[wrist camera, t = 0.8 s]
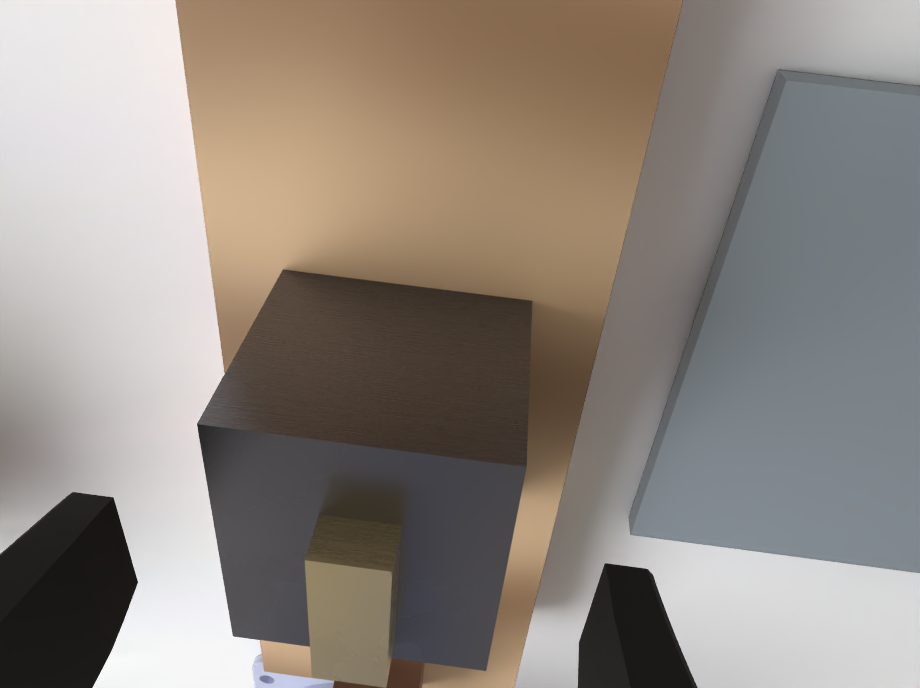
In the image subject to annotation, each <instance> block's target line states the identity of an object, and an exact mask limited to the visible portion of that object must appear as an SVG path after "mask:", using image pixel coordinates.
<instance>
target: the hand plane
mask: <svg viewBox="0 0 920 688" xmlns="http://www.w3.org/2000/svg"><path fill="white" fill-rule="evenodd" d="M175 1H176V8H177V16H178V23H179V31H180V39H181V46H182V54H183V61H184V69H185V76H186V84H187V92H188V99H189V107H190V114H191V122H192V129H193V137H194V145H195V152H196V160H197V167H198V175H199V182H200V190H201V197H202V205H203V213H204V220H205V228H206V235H207V243H208V250H209V258H210V266H211V273H212V281H213V288H214V296H215V303H216V311H217V319H218V326H219V334H220V341H221V349H222V356H223V364H224V372H225V373H226V371H227V369H228V367H229V366H230V364H231V362H232V360H233V358H234V357H235V355H236V353H237V351H238V349H239V348H240V346H241V344H242V342H243V340H244V339H245V337H246V335H247V333H248V331H249V329H250V328H251V326H252V324H253V322H254V320H255V319H256V317H257V315H258V313H259V311H260V310H261V308H262V306H263V304H264V302H265V301H266V299H267V297H268V295H269V293H270V292H271V290H272V288H273V286H274V284H275V283H276V281H277V279H278V277H279V275H280V274H281V272H282V270H291V271H299V272H307V273H315V274H323V275H331V276H339V277H347V278H355V279H363V280H371V281H379V282H387V283H395V284H403V285H411V286H419V287H427V288H435V289H443V290H451V291H459V292H467V293H475V294H483V295H491V296H499V297H507V298H515V299H523V300H531V301H532V326H531V355H530V385H529V414H528V443H527V468H526V473H525V478H524V483H523V488H522V493H521V498H520V503H519V508H518V513H517V518H516V523H515V528H514V533H513V539H512V544H511V549H510V554H509V559H508V564H507V569H506V574H505V579H504V584H503V589H502V594H501V599H500V604H499V609H498V614H497V619H496V624H495V629H494V634H493V639H492V644H491V649H490V654H489V659H488V665H487V670H486V671H482V670H474V669H467V668H460V667H453V666H445V665H438V664H431V663H424V662H416V661H409V660H402V659H395V658H392V659H391V665H390V670H389V676H388V681H387V687H386V688H514V686H515V682H516V678H517V674H518V670H519V666H520V661H521V657H522V653H523V649H524V645H525V641H526V637H527V633H528V629H529V625H530V621H531V617H532V613H533V609H534V605H535V600H536V596H537V592H538V588H539V584H540V580H541V576H542V572H543V568H544V564H545V560H546V556H547V552H548V548H549V544H550V539H551V535H552V531H553V527H554V523H555V519H556V515H557V511H558V507H559V503H560V499H561V495H562V491H563V487H564V483H565V479H566V474H567V470H568V466H569V462H570V458H571V454H572V450H573V446H574V442H575V438H576V434H577V430H578V426H579V422H580V418H581V413H582V409H583V405H584V401H585V397H586V393H587V389H588V385H589V381H590V377H591V373H592V369H593V365H594V361H595V357H596V352H597V348H598V344H599V340H600V336H601V332H602V328H603V324H604V320H605V316H606V312H607V308H608V304H609V300H610V296H611V291H612V287H613V283H614V279H615V275H616V271H617V267H618V263H619V259H620V255H621V251H622V247H623V243H624V239H625V235H626V230H627V226H628V222H629V218H630V214H631V210H632V206H633V202H634V198H635V194H636V190H637V186H638V182H639V178H640V174H641V169H642V165H643V161H644V157H645V153H646V149H647V145H648V141H649V137H650V133H651V129H652V125H653V121H654V117H655V113H656V108H657V104H658V100H659V96H660V92H661V88H662V84H663V80H664V76H665V72H666V68H667V64H668V60H669V56H670V52H671V48H672V43H673V39H674V35H675V31H676V27H677V23H678V19H679V15H680V11H681V7H682V3H683V0H175ZM260 644H261V652H262V659H263V667H264V672H271V673H279V674H286V675H293V676H300V677H307V678H312V671H311V655H310V647H308V646H300V645H293V644H286V643H279V642H271V641H264V640H260ZM315 679H319V678H315ZM322 680H326V679H322ZM329 681H334V680H329ZM333 688H384V687H377V686H370V685H362V684H355V683H348V682H341V681H334V685H333Z"/></svg>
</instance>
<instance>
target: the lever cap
mask: <svg viewBox="0 0 920 688" xmlns="http://www.w3.org/2000/svg"><path fill="white" fill-rule="evenodd" d="M531 326H532V301H531V300H523V299H515V298H507V297H499V296H491V295H483V294H475V293H467V292H459V291H451V290H443V289H435V288H427V287H419V286H411V285H403V284H395V283H387V282H379V281H371V280H363V279H355V278H347V277H339V276H331V275H323V274H315V273H307V272H299V271H291V270H282V272H281V274H280V275H279V277H278V279H277V281H276V283H275V284H274V286H273V288H272V290H271V292H270V293H269V295H268V297H267V299H266V301H265V302H264V304H263V306H262V308H261V310H260V311H259V313H258V315H257V317H256V319H255V320H254V322H253V324H252V326H251V328H250V329H249V331H248V333H247V335H246V337H245V339H244V340H243V342H242V344H241V346H240V348H239V349H238V351H237V353H236V355H235V357H234V358H233V360H232V362H231V364H230V366H229V367H228V369H227V371H226V373H225V375H224V376H223V378H222V380H221V382H220V384H219V385H218V387H217V389H216V391H215V393H214V394H213V396H212V398H211V400H210V402H209V404H208V405H207V407H206V409H205V411H204V413H203V414H202V416H201V418H200V420H199V422H198V423H197V426H198V432H199V438H200V444H201V450H202V456H203V462H204V468H205V474H206V480H207V485H208V491H209V497H210V503H211V509H212V515H213V521H214V527H215V533H216V539H217V544H218V550H219V556H220V562H221V568H222V574H223V580H224V586H225V592H226V598H227V603H228V609H229V615H230V621H231V627H232V633H233V636H235V637H242V638H249V639H257V640H264V641H271V642H279V643H286V644H293V645H300V646H308V647H310V655H311V671H312V678H319V679H326V680H334V681H341V682H348V683H355V684H362V685H370V686H377V687H384V688H386V687H387V681H388V676H389V670H390V665H391V659H392V658H395V659H402V660H409V661H416V662H424V663H431V664H438V665H445V666H453V667H460V668H467V669H474V670H482V671H486V670H487V665H488V659H489V654H490V649H491V644H492V639H493V634H494V629H495V624H496V619H497V614H498V609H499V604H500V599H501V594H502V589H503V584H504V579H505V574H506V569H507V564H508V559H509V554H510V549H511V544H512V539H513V533H514V528H515V523H516V518H517V513H518V508H519V503H520V498H521V493H522V488H523V483H524V478H525V473H526V468H527V443H528V414H529V385H530V355H531Z"/></svg>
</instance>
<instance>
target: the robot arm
mask: <svg viewBox="0 0 920 688" xmlns="http://www.w3.org/2000/svg"><path fill="white" fill-rule="evenodd" d="M137 583H138V581H137V578H136V574H135V571H134V567H133V564H132V560H131V557H130V553H129V550H128V546H127V543H126V539H125V536H124V532H123V529H122V526H121V522H120V519H119V515H118V512H117V508H116V505H115V501H114V498H113V497H105V496H98V495H91V494H83V493H76V492H72V493H71V494H70V495H68V496H67V497H66V498H65V499H63V500H62V501H61V502H60V503H59V504H58V505H56V506H55V507H54V508H53V509H52V510H51V511H49V512H48V513H47V514H46V515H45V516H44V517H42V518H41V519H40V520H39V521H38V522H37V523H36V524H34V525H33V526H32V527H31V528H30V529H29V530H28V531H26V532H25V533H24V534H23V535H22V536H21V537H20V538H18V539H17V540H16V541H15V542H14V543H13V544H11V545H10V546H9V547H8V548H7V549H6V550H5V551H3V552H2V553H1V554H0V688H92V687H93V685H94V684H95V682H96V680H97V678H98V676H99V674H100V672H101V670H102V668H103V666H104V664H105V662H106V660H107V658H108V656H109V654H110V653H111V651H112V648H113V646H114V643H115V641H116V638H117V636H118V633H119V631H120V628H121V626H122V623H123V621H124V618H125V616H126V613H127V610H128V608H129V605H130V602H131V599H132V597H133V594H134V591H135V589H136V586H137ZM252 671H253V678H254V685H255V688H333V685H334V681H329V680H322V679H315V678H307V677H300V676H293V675H286V674H279V673H271V672H264V667H263V659H262V654H261V655H258V656H257V657H256V658H255V661H254V664H253V667H252ZM578 688H697V686H696V683H695V681H694V679H693V677H692V674H691V672H690V670H689V667H688V665H687V663H686V660H685V658H684V656H683V653H682V651H681V648H680V646H679V644H678V641H677V639H676V636H675V634H674V631H673V629H672V626H671V624H670V621H669V618H668V616H667V613H666V611H665V608H664V605H663V602H662V600H661V597H660V594H659V591H658V589H657V586H656V583H655V580H654V577H653V575H652V574H651V572H650V571H649V570H648V569H644V568H636V567H629V566H621V565H614V564H606V563H605V565H604V568H603V571H602V574H601V577H600V580H599V583H598V586H597V589H596V592H595V595H594V598H593V601H592V605H591V608H590V611H589V614H588V617H587V620H586V623H585V626H584V629H583V632H582V635H581V638H580V641H579V668H578Z"/></svg>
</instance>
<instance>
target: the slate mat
mask: <svg viewBox="0 0 920 688" xmlns="http://www.w3.org/2000/svg"><path fill="white" fill-rule="evenodd" d="M629 525H630V535H636V536H644V537H651V538H659V539H666V540H674V541H681V542H689V543H697V544H704V545H712V546H719V547H727V548H734V549H742V550H749V551H757V552H765V553H772V554H780V555H787V556H795V557H802V558H810V559H817V560H825V561H832V562H840V563H848V564H855V565H863V566H870V567H878V568H885V569H893V570H900V571H908V572H916V573H920V86H913V85H904V84H896V83H887V82H879V81H870V80H861V79H853V78H844V77H836V76H827V75H818V74H810V73H801V72H792V71H784V70H778V71H777V74H776V77H775V80H774V83H773V86H772V89H771V92H770V95H769V98H768V101H767V104H766V107H765V110H764V113H763V116H762V119H761V122H760V125H759V128H758V131H757V134H756V137H755V140H754V143H753V146H752V149H751V152H750V155H749V158H748V161H747V164H746V167H745V170H744V173H743V176H742V179H741V182H740V185H739V188H738V191H737V194H736V197H735V200H734V203H733V206H732V209H731V212H730V215H729V218H728V221H727V224H726V227H725V230H724V233H723V236H722V239H721V242H720V245H719V248H718V251H717V254H716V257H715V260H714V263H713V266H712V269H711V272H710V275H709V278H708V281H707V284H706V287H705V290H704V293H703V296H702V299H701V302H700V305H699V308H698V311H697V314H696V317H695V320H694V323H693V326H692V329H691V332H690V335H689V338H688V341H687V344H686V347H685V350H684V353H683V356H682V359H681V362H680V365H679V368H678V371H677V374H676V377H675V380H674V383H673V386H672V389H671V392H670V395H669V398H668V401H667V404H666V407H665V410H664V413H663V416H662V419H661V422H660V425H659V428H658V431H657V434H656V437H655V440H654V443H653V446H652V449H651V452H650V455H649V458H648V461H647V464H646V467H645V470H644V473H643V476H642V479H641V482H640V485H639V488H638V491H637V494H636V497H635V500H634V503H633V506H632V509H631V512H630V515H629Z"/></svg>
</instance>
